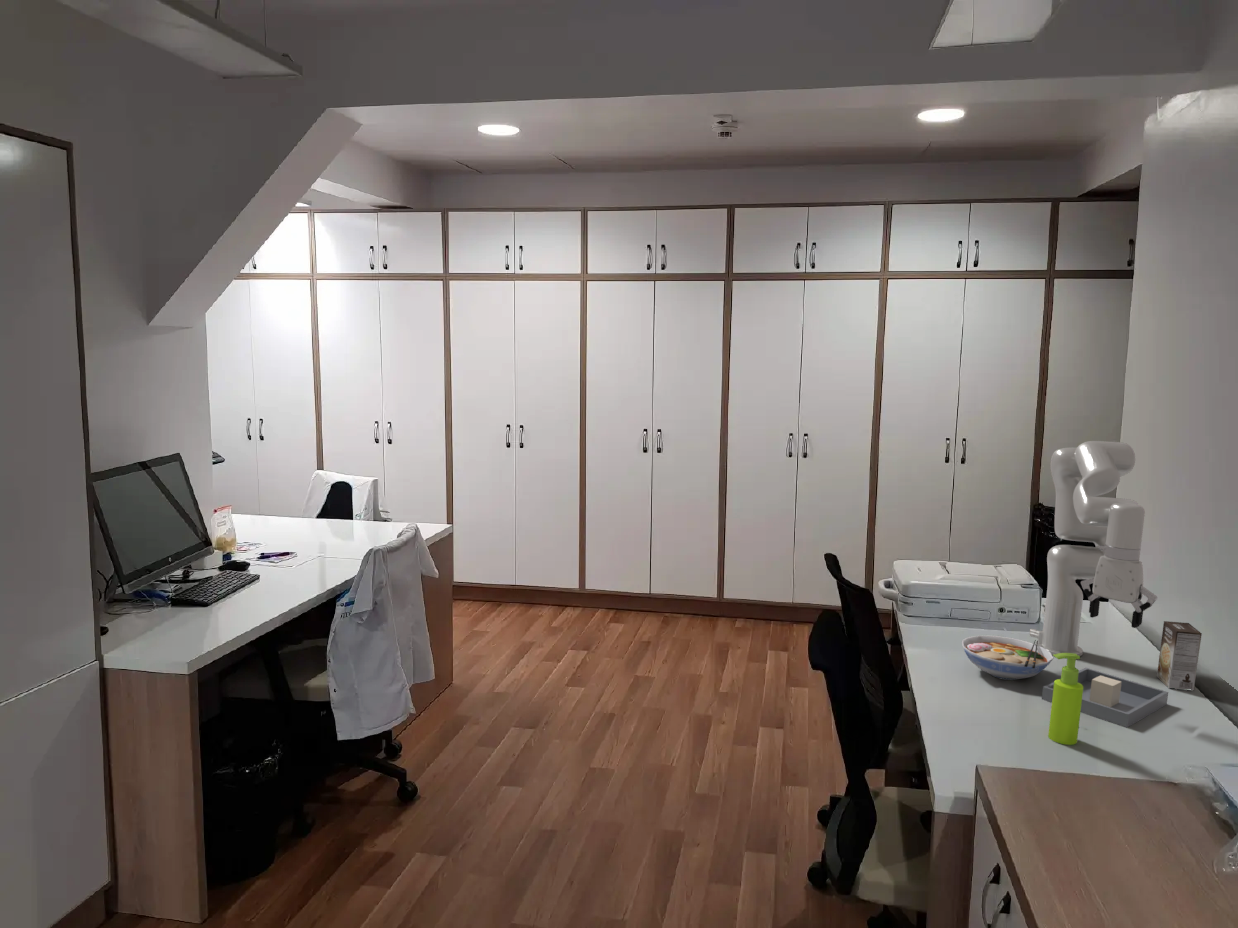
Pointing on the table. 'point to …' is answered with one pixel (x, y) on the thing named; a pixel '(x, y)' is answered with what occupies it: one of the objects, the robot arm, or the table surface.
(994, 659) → the ramen bowl
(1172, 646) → the coffee box
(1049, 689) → the parts tray
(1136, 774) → the table surface
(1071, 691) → the soap dispenser
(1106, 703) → the tan wooden cube
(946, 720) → the table surface
